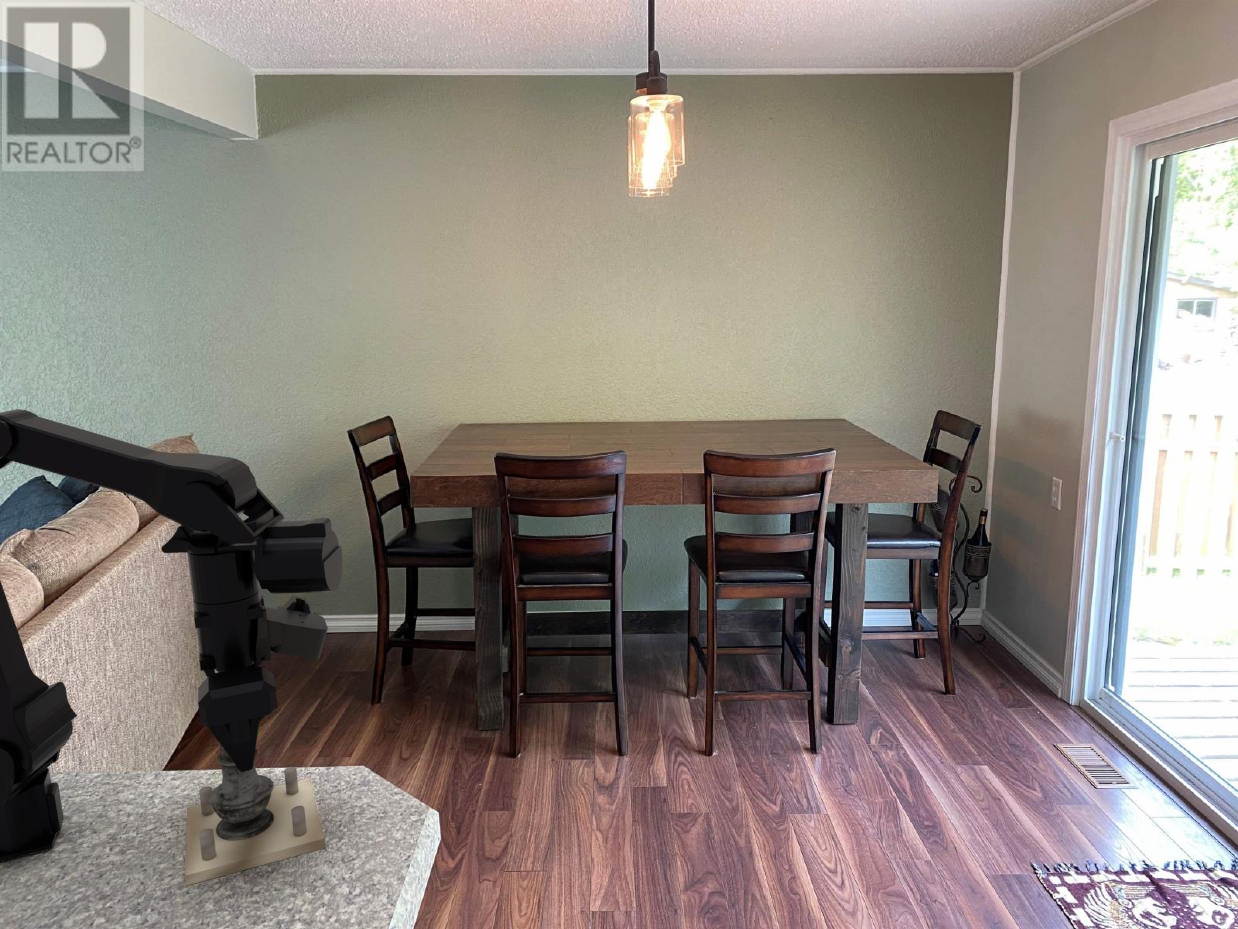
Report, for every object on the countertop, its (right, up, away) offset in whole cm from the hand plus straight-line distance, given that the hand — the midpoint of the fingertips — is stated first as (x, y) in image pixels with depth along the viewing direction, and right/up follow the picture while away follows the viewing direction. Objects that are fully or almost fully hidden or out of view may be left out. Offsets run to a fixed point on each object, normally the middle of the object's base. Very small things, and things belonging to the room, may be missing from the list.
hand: (244, 747), depth 85 cm
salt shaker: (0, -8, +1) cm, 8 cm away
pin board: (0, -9, +2) cm, 9 cm away
